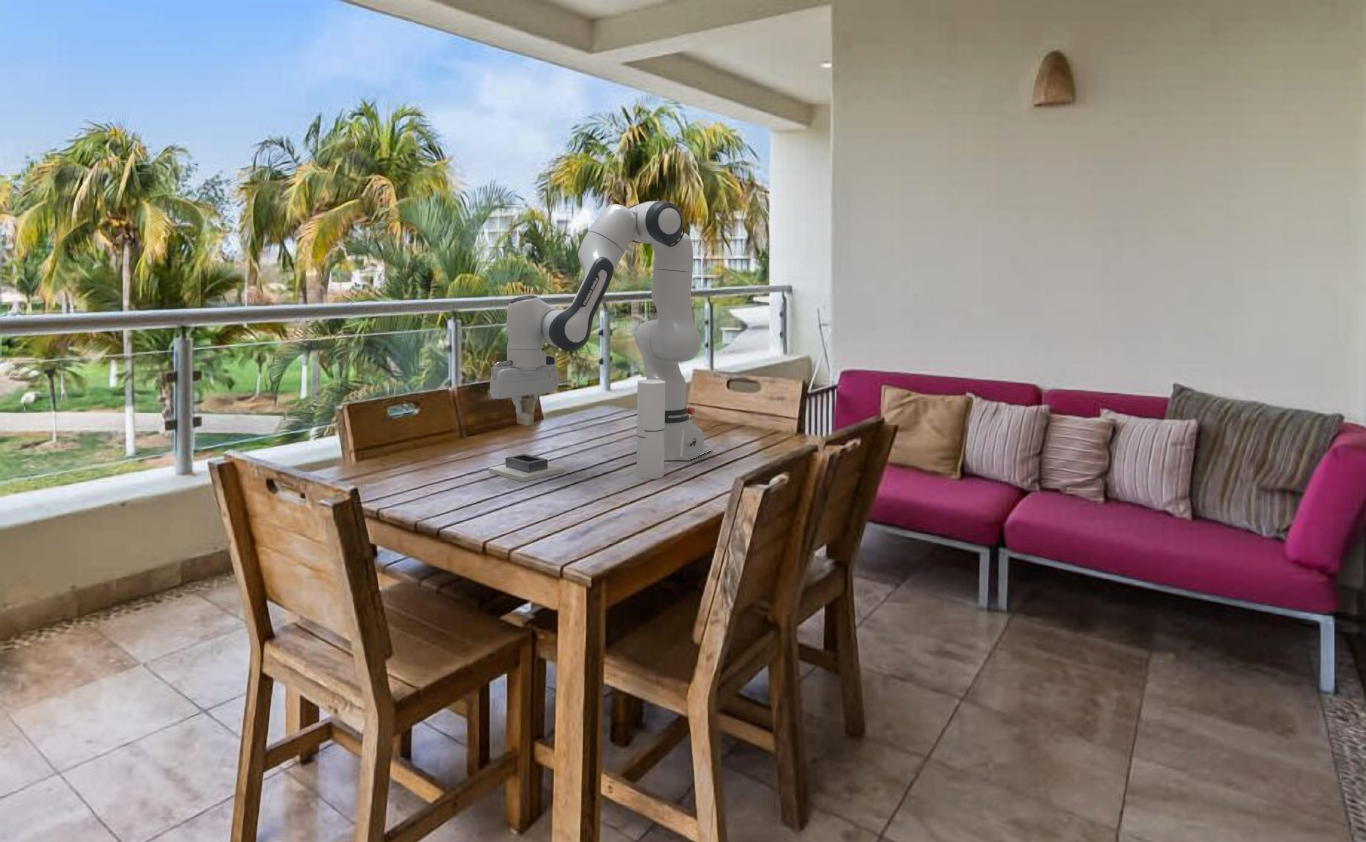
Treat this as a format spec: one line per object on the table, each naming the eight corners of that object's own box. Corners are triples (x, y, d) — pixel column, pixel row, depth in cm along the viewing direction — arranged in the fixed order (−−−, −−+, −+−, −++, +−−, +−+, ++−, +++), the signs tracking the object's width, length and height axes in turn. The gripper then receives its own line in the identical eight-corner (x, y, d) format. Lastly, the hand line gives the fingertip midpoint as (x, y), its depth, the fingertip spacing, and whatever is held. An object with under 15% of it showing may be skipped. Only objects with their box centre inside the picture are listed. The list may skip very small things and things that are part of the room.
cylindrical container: (660, 479, 210) (661, 384, 205) (633, 477, 212) (634, 382, 207) (666, 473, 217) (667, 380, 212) (640, 471, 218) (641, 379, 214)
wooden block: (522, 422, 215) (522, 396, 214) (534, 424, 212) (533, 398, 211) (516, 423, 213) (516, 396, 212) (528, 425, 211) (527, 398, 209)
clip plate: (530, 463, 225) (529, 458, 225) (564, 471, 216) (564, 467, 216) (488, 472, 214) (488, 467, 214) (523, 482, 206) (522, 477, 205)
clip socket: (524, 462, 220) (524, 453, 220) (547, 468, 215) (547, 459, 214) (505, 466, 216) (505, 457, 215) (528, 473, 210) (528, 463, 209)
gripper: (499, 363, 200) (500, 418, 202) (562, 357, 215) (562, 409, 218) (483, 361, 204) (485, 415, 206) (546, 355, 219) (546, 406, 222)
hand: (525, 412), depth 212 cm, fingers closed on wooden block, 2 cm apart
